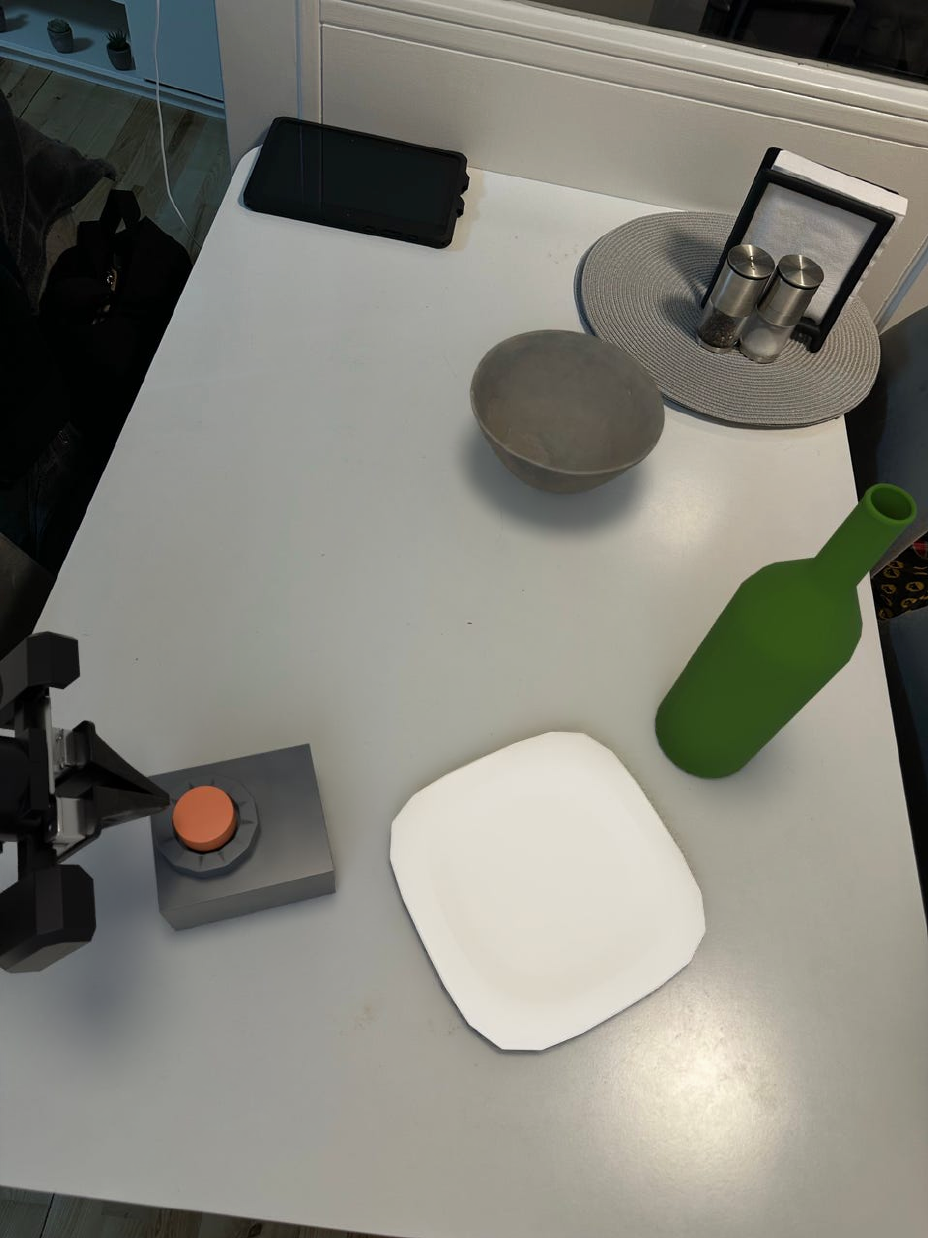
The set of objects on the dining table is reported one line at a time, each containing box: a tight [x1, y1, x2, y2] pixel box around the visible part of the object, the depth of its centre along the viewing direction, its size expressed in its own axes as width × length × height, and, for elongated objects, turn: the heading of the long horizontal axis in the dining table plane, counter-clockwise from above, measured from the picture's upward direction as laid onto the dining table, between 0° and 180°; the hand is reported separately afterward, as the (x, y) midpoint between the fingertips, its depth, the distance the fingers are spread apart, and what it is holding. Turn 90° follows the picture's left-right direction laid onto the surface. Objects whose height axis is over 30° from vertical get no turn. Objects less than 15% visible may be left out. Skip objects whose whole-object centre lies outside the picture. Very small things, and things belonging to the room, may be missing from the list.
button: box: [173, 786, 237, 851], centre depth 61 cm, size 4×4×2 cm
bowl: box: [469, 328, 666, 495], centre depth 88 cm, size 19×19×10 cm
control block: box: [146, 743, 337, 933], centre depth 65 cm, size 12×10×8 cm
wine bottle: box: [655, 482, 918, 780], centre depth 64 cm, size 9×9×32 cm
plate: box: [389, 731, 707, 1051], centre depth 69 cm, size 22×22×2 cm
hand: (166, 803), depth 57 cm, fingers closed
